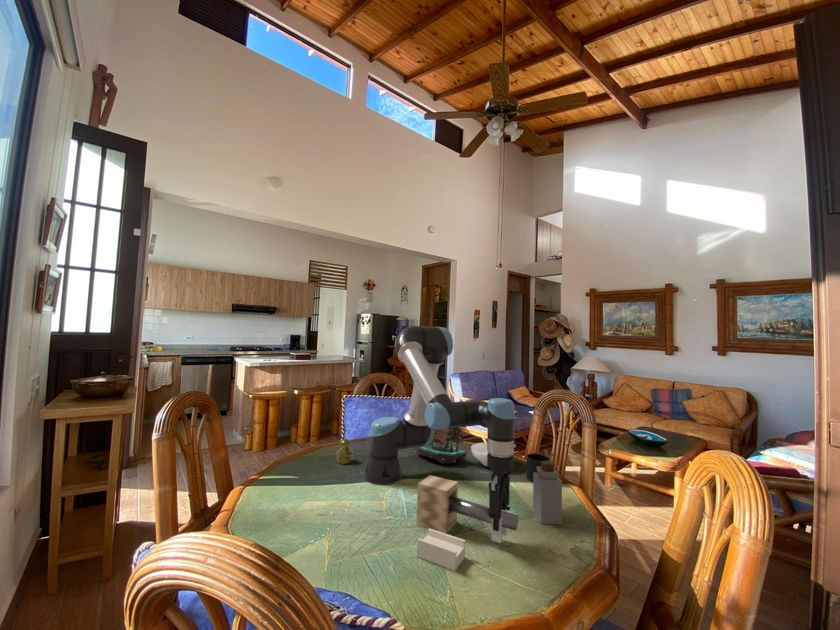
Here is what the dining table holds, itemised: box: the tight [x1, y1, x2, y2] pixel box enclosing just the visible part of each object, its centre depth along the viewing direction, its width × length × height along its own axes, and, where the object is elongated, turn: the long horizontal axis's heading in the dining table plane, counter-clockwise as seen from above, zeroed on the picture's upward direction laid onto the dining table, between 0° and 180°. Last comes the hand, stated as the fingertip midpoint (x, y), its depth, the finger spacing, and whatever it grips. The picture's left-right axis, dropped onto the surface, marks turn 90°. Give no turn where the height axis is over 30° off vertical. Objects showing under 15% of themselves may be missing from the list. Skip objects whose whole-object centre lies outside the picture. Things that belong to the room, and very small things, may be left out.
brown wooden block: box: [416, 474, 459, 534], centre depth 112 cm, size 10×8×12 cm
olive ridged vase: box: [336, 438, 354, 465], centre depth 164 cm, size 7×7×10 cm
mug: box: [525, 453, 551, 483], centre depth 149 cm, size 9×12×9 cm
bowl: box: [470, 442, 514, 467], centre depth 166 cm, size 20×20×7 cm
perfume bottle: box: [532, 460, 563, 525], centre depth 118 cm, size 7×7×18 cm
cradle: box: [416, 528, 466, 572], centre depth 95 cm, size 11×7×4 cm, turn 61°
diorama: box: [414, 427, 467, 465], centre depth 173 cm, size 19×25×19 cm
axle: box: [449, 496, 519, 532], centre depth 106 cm, size 24×4×4 cm, turn 60°
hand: (499, 536), depth 102 cm, fingers closed on axle, 4 cm apart
